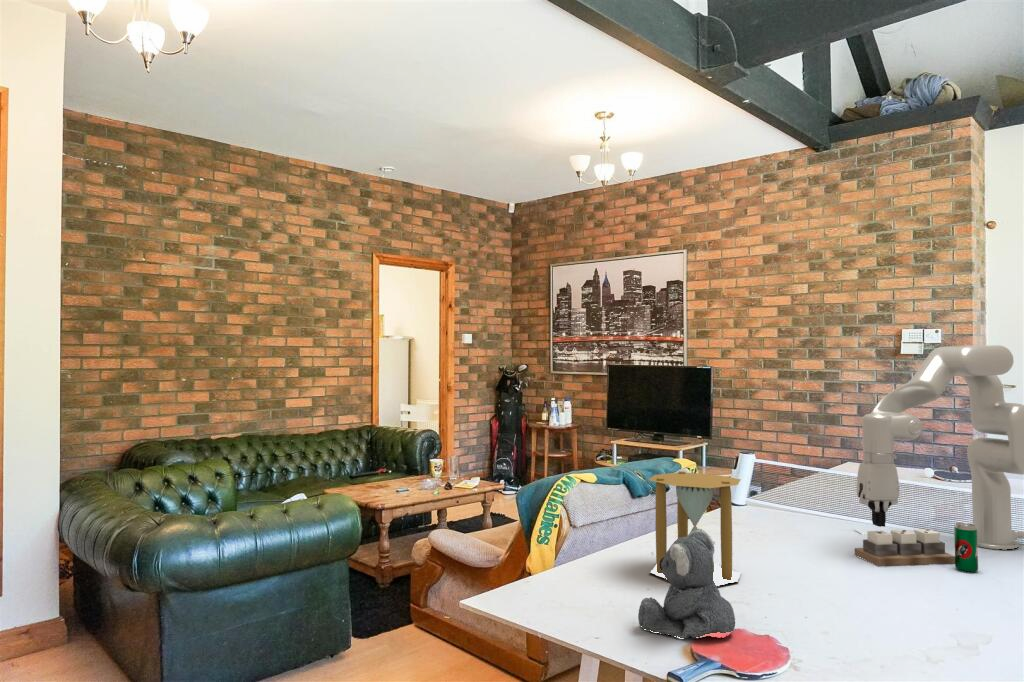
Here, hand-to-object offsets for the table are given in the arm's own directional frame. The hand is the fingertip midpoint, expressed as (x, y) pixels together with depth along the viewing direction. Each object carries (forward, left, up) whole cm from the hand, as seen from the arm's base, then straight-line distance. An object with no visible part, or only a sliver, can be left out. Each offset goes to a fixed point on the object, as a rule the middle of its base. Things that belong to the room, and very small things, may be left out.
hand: (878, 525), depth 192 cm
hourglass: (+55, +6, -10) cm, 56 cm away
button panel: (-7, 0, -10) cm, 12 cm away
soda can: (-17, +11, -10) cm, 22 cm away
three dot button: (-7, 0, -6) cm, 9 cm away
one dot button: (0, 0, -6) cm, 6 cm away
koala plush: (+69, +41, -10) cm, 81 cm away
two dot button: (-14, 0, -6) cm, 15 cm away
